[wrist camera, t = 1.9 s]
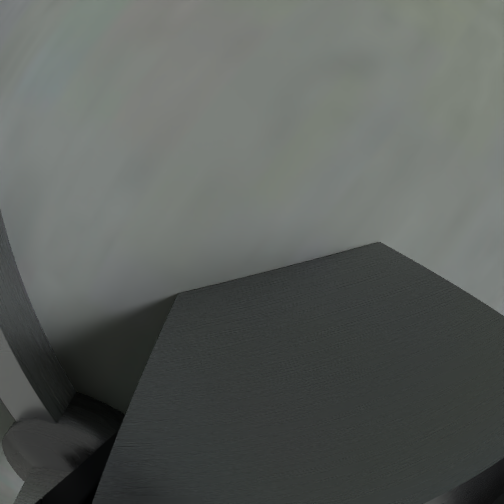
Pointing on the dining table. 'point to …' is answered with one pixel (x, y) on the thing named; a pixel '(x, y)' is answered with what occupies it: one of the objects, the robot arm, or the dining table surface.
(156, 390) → the grey bevelled cube
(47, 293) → the dining table surface
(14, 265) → the ratchet
